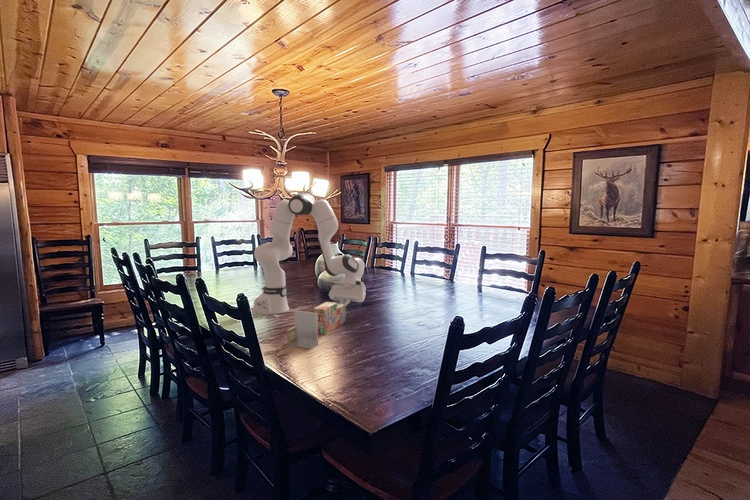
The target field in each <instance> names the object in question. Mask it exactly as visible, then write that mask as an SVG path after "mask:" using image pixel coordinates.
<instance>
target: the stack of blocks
mask: <svg viewBox="0 0 750 500" xmlns="http://www.w3.org/2000/svg"><path fill="white" fill-rule="evenodd" d="M313 313H317V325H318V334H319V335H327V334H328V333H330V332H332V331H333V330H335V329H336V328H338V327H339V326H341V325H343V324H345V322H347V311H346V308H345V304H338V303H334V302H333V301H331V302H330V301H325V302H323V303H321V304H320V305H318V306H314V307H313Z"/></svg>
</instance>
